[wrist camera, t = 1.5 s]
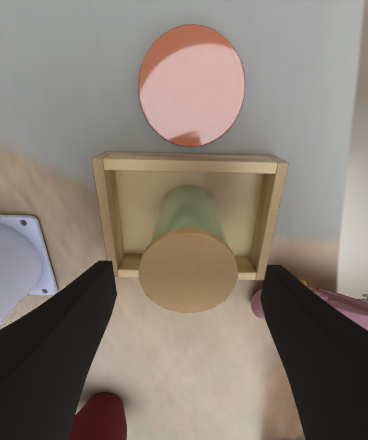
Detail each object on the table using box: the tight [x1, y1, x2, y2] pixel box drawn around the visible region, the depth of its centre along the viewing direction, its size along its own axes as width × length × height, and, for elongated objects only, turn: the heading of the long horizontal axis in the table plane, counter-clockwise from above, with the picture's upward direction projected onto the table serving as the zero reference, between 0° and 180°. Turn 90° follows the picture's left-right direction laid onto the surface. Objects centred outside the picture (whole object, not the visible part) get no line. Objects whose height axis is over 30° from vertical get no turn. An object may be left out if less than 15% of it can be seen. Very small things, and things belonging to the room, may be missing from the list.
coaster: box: [139, 25, 245, 147], centre depth 14 cm, size 7×7×1 cm
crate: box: [92, 152, 289, 280], centre depth 17 cm, size 12×9×3 cm
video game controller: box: [251, 280, 368, 330], centre depth 19 cm, size 10×5×7 cm, turn 74°
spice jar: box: [138, 186, 238, 313], centre depth 14 cm, size 5×5×8 cm
